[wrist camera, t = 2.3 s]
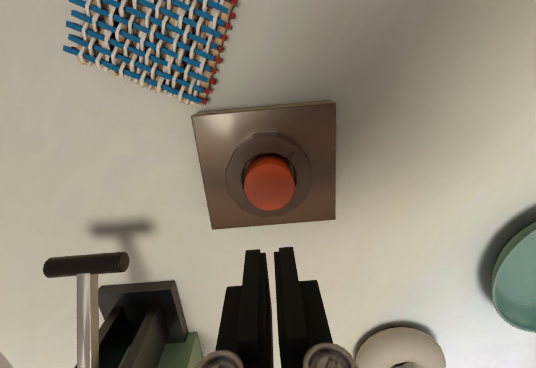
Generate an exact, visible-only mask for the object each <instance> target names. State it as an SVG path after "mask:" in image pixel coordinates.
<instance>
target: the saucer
mask: <svg viewBox="0 0 536 368" xmlns="http://www.w3.org/2000/svg"><path fill="white" fill-rule="evenodd" d="M491 293H492V299H493V304H494V306H495V309H496V311H497V312H498V314H499V315H500V316H501V317H502V318H503V319H504V320H505V321H506V322H507V323H509V324H510V325H512V326H514V327H516V328H518V329H521V330H525V331H528V332H535V333H536V222H534V223H532V224H530V225H529V226H527V227H526V228H524V229H523V230H521V231H520V232H519V233H517V234H516V235H515V236H514V237H513V238H512V239H511V240H510V241H509V242H508V243H507V244H506V246H505V247H504V248H503V250H502V251H501V253H500V255H499V257H498V259H497V261H496V264H495V266H494V270H493V274H492V281H491Z"/></svg>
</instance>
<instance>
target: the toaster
mask: <svg viewBox="0 0 536 368" xmlns="http://www.w3.org/2000/svg"><path fill="white" fill-rule="evenodd" d="M130 347H131V346H129V347H128V349H127V351H126V353H125V355H124V357H123V359H122V361H121V363H120V365H119V367H118V368H120V367H121V365H122V363H123V361H124V359H125V357H126V355H127V353H128V351H129V349H130ZM202 358H203V356H202V352H201V348H200V344H199V340H198V336H197V333H188V336H187V339H186V342H182V343H169V344H165V347H164V350H163V353H162V355H161V358H160V361H159V364H158V366H157V368H195V366H196V365H197V364H198V363H199V361H200V360H201V359H202Z"/></svg>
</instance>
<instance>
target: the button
mask: <svg viewBox="0 0 536 368" xmlns="http://www.w3.org/2000/svg"><path fill="white" fill-rule="evenodd" d="M294 189H295V184H294V179H293V176H292V172H291V169H290V167H289V166H288V164H287V163H286V162H285V161H283V160H282V159H280V158H278V157H275V156H263V157H260V158H258V159H256V160H254V161H253V162H252V163H251V164H250V165H249V167H248V169H247V171H246V176H245V181H244V193H245V196H246V198H247V199H248V201H249V202H250V203H251V204H252V205H254V206H255V207H257V208H259V209H262V210H276V209H279V208H281V207H283V206H285V205H286V204H287V203H288V202H289V201H290V200H291V198H292V196H293V194H294Z"/></svg>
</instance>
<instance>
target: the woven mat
mask: <svg viewBox="0 0 536 368" xmlns="http://www.w3.org/2000/svg"><path fill="white" fill-rule="evenodd" d="M100 1H102V2H104V3H106V10H104V9H102V8H101V2H100ZM189 1H190V0H158V1H157V5H155V4H154V0H121V1H120V3H119V2H118V0H87V2H85V1H82V0H69V2H72V3H74V4H77V5H79V6H82V7H84V8H86V13H87V14H86V15H85V14H82V13H80V12H78V11H74V10H72V11H71V15H72V16H74V17H76V18H79V19H81V20H83V21H85V24H84V26H81V25H79V24H76V23H72V22H69V21H66V27H69V28H72V29H74V30H77V31H80V32H82V35H83V38H80V37H78V36H75V35H71V34H69V36H68V39H69V40H71V41H73V42H75V43H77V44H79V45H78V47H77V48H76V47H68V46H65V45H63V51H66V52H68V53H71V54H74V55H76V57H77V59H78V61H79V62H80V63H81V64H82V65H84V64H87V66H89V67H90V66H91V65H92V63H93V62H94V63H96V66H97V69H99V70H100V65H101V66H104V71H106V72H107V68H109V69H108V70H109V72H110V73H109V75H113V76H117V74H118V73H119V76H120V79H124V75H123V73H124V74H126V75H128V77H129V78H128V82H130V83H131V82H132V80H133V78H135V82H134V83H137V84H138V83H139V80H140V85H141V87H147V89H148V90H150V91H151V89H152V87H153V90H154V91H155V93H161V89H164V93H167V92H170V94H169V96H168V97H169V98H172V96H173V94H176V95H178V101H179V102H182V103H185V104H186V105H189V102H190V101H191V105H193V104H194V102H196V103H197V104H200V105H204V104H205V105H206V103H207V100H206V99H205V98H206V95H207V94H208V95H209V93H210V90H209V89H208V86H209V83H211V84H214V85H215V83H216V80H214V79H212V78H211V76H212V74H213V73H214V74H215V73H216V70H217V69H215V65H216V63H219V64H220V63H221V59H220V58H218V55H219V52H222V51H223V47H221V45H222V42H223V40H224V41H225V40H226V37H227V36H225V32H226V29H228V30H229V27H230V24H228V20H229V18H233V19H234V17H235V14H234V13H232V12H231V10H232V8H233V5H236V4H237V1H238V0H220V2H219V3H218V0H191V2H190V6H189ZM184 2H185V3H184ZM137 3H138V4H140V6H139V11H138V10H137ZM200 4H202V5H203V7H202V10H199V8H200ZM132 5H133V8H131V6H132ZM171 5H172V6H171ZM117 8H118V11H119V16H118V15H116V11H117ZM166 8H167V9H166ZM152 10H154V11H155V15H154V17H152V16H151V13H152ZM186 11H187V12H188V14H187V18H185V17H184V15H185V13H186ZM129 13H130V14H132V15H131V17H130V14H129ZM100 15H103V16H105V17H104V22H102V21H99V20H98V18H99V16H100ZM136 16H137V21H136V23H135V22H133V21H134V19H135V17H136ZM197 16H198V17H200V18H199V21H198V23H197V22H196V19H197ZM218 16H219V19H218ZM167 20H168V23H166V22H167ZM115 21H117V22H120V23H119V25H118V27H117V28H116V27H114V23H115ZM149 22H151V25H150V27H149ZM182 23H183V24H185V26H184V30H182V29H181V28H182ZM216 24H217V28H216V30H215V26H216ZM97 26H99V27H100V28H99V29H98V31H97ZM132 28H135V31H134V35H133V33H132ZM161 28H162V31H161V33H159V31H160V30H161ZM194 28H196V35H194V34H193V31H194ZM165 29H167V34H166V35H165ZM112 32H114V33H115V37H116V39H114V38H112V37H111V34H112ZM180 35H181V36H182V38H181V42H180V41H178V39H179V36H180ZM146 36H147V37H148V40H145V39H146ZM213 36H214V39H212V38H213ZM207 37H208V40H206V38H207ZM157 38H158V39H160V40H159V42H158V41H157ZM96 39H97V43H98V45H97V44H95V41H96ZM131 40H132V41H133V42H132V46H131V45H129V44H130V42H131ZM191 40H193V41H194V42H193V44H192V46H190V42H191ZM164 41H165V42H164ZM163 42H164V47H162V44H163ZM109 43H110V44H111V45H113V46H115V48H114V50H113V51H112V50H110V45H109ZM144 45H145V46H147V47H148V48H147V52H145V48H144ZM204 45H205V46H206V49H204ZM176 47H178V49H177V51H176ZM209 47H210V48H209ZM93 49H94V50H96V51H98V52H99V54H98V56H95V55H94V53H93ZM128 51H129V52H128ZM188 51H189V52H190V56H189V57H187V56H185V55H186V54H187V52H188ZM160 52H162V55H161V58H160ZM208 52H210V53H208ZM110 56H111V59H112V62H110V61H109V57H110ZM139 56H140V57H139ZM138 57H139V60H137V58H138ZM144 58H145V62H144V63H143V60H144ZM206 59H207V63H206V64H205V61H206ZM173 60H174V63H173ZM184 62H186V63H188V64H187V66H186V68H185V67H184ZM158 64H159V68H158V69H157V68H156V67H157V65H158ZM125 66H126V68H125ZM136 67H137V72H136ZM141 69H142V70H143V72H142V74H141ZM171 69H173V70H174V71H173V75H172V74H171ZM203 70H204V72H203ZM182 73H184V79H182V78H181V77H182ZM165 78H166V83H165V82H163V81H164V79H165ZM196 79H197V83H196V84H195V81H196ZM170 80H171V83H170V85H169V81H170ZM179 85H182V86H181V89H179ZM199 85H200V86H199ZM193 89H194V93H193V94H192V91H193ZM197 92H199V93H198V96H196V95H197Z"/></svg>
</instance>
